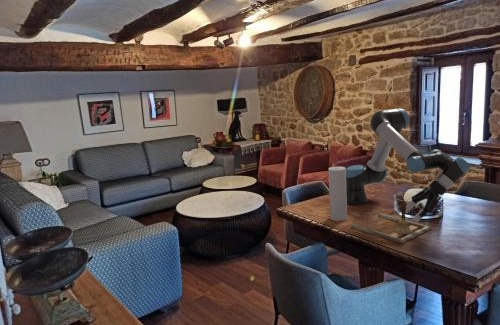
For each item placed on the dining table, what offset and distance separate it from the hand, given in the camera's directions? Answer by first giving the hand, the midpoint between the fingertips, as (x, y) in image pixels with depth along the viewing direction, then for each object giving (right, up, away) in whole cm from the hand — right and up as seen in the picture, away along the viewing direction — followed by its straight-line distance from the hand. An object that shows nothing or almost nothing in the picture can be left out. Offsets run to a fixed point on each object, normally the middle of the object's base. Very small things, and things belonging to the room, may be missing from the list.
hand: (409, 215), depth 182 cm
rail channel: (-6, -8, +9) cm, 13 cm away
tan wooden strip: (-2, -9, +3) cm, 9 cm away
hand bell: (-2, -8, +3) cm, 9 cm away
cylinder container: (-28, -6, +29) cm, 41 cm away
